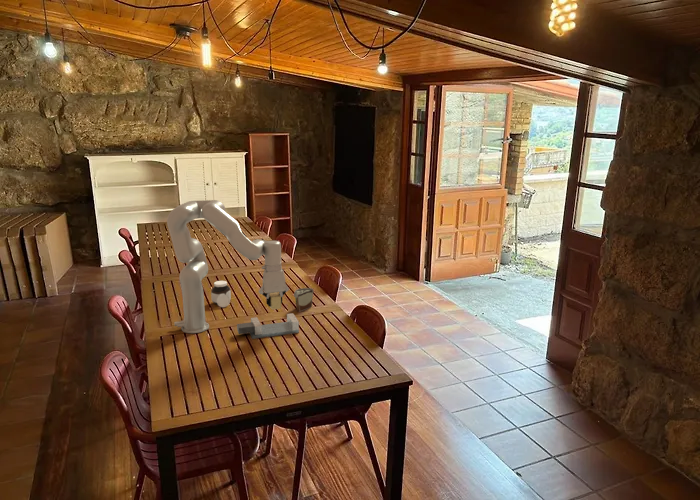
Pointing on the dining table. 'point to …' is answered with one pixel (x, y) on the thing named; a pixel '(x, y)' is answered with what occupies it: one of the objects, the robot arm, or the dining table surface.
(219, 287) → the spread jar
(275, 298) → the brass block
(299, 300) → the food container
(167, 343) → the dining table surface
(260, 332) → the vise jaw
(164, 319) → the dining table surface
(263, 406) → the dining table surface
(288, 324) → the vise
